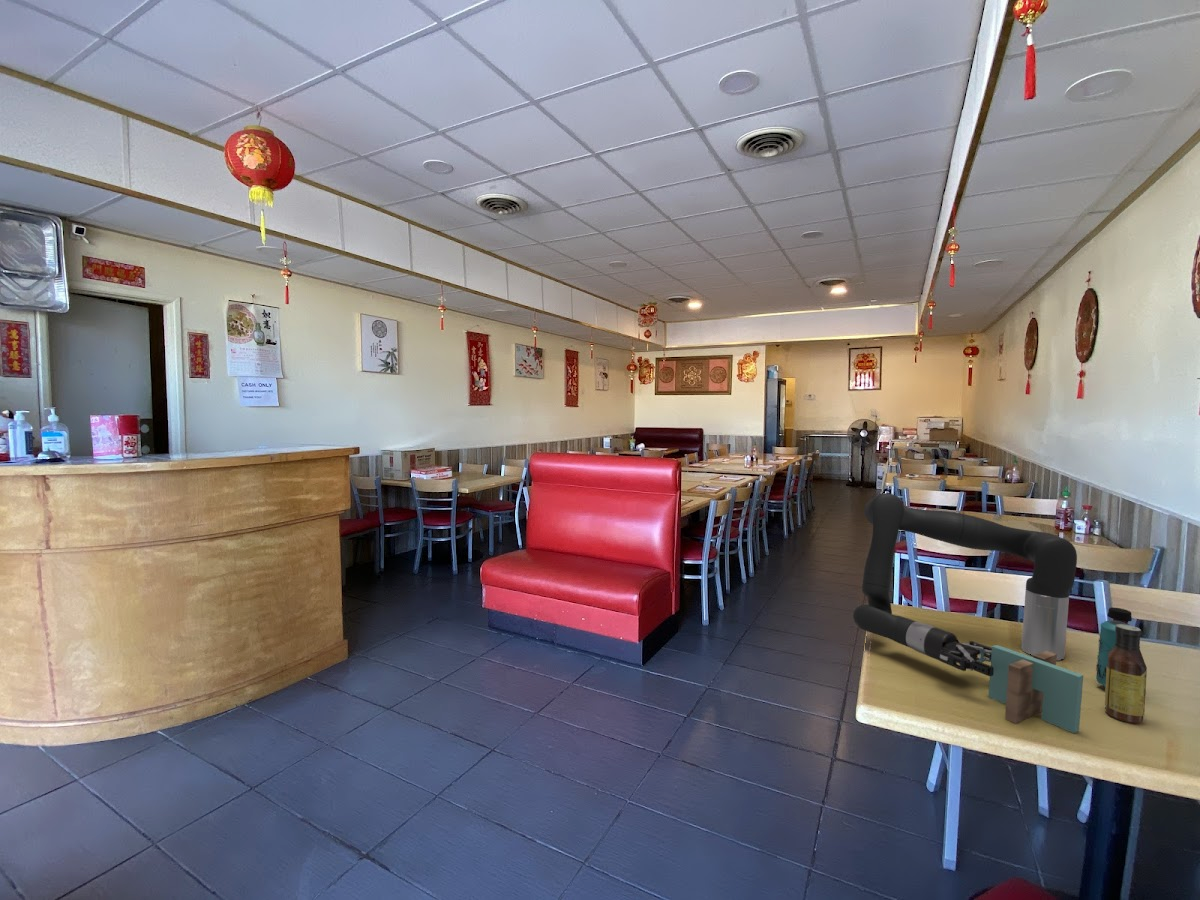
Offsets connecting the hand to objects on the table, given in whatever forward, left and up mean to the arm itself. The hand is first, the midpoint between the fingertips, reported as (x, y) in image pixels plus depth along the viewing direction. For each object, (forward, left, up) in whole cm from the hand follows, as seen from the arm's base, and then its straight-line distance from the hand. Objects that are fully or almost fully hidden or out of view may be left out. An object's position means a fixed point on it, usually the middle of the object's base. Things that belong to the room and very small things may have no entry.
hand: (1002, 668), depth 123 cm
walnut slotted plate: (0, +6, -7) cm, 9 cm away
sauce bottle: (-17, +16, -8) cm, 24 cm away
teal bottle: (-30, +10, -8) cm, 32 cm away
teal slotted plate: (0, +6, -7) cm, 10 cm away
